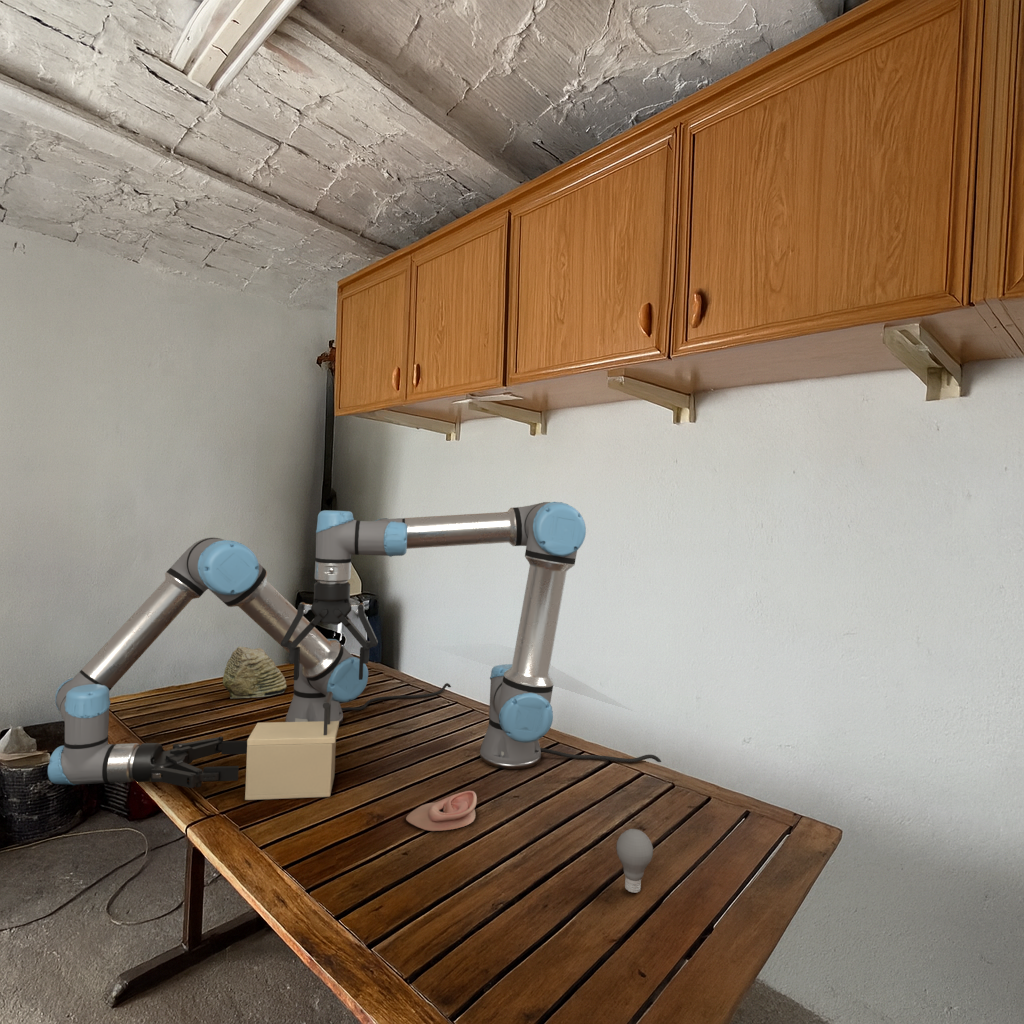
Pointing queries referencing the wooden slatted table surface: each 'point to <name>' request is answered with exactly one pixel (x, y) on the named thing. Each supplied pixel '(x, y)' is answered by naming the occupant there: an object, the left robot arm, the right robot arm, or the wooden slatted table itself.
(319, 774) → the chest
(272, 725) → the lid
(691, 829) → the wooden slatted table surface
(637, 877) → the light bulb
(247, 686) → the fossil
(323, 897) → the wooden slatted table surface
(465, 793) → the anatomical model
